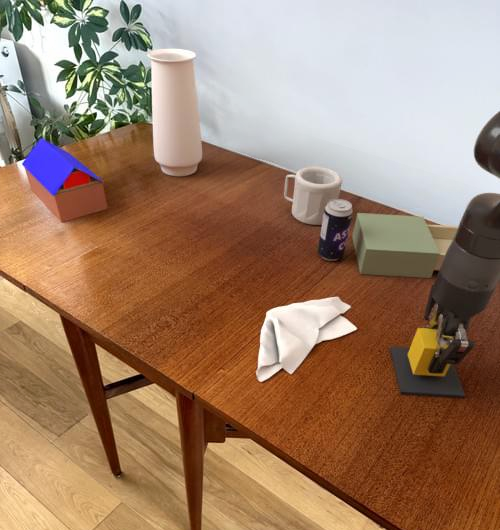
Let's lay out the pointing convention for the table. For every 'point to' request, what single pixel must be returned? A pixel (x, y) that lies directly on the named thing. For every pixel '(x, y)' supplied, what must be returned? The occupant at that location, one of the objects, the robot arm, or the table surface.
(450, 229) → the drawer
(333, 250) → the beverage can
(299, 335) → the cloth
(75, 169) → the house
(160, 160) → the vase
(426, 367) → the yellow block
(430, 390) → the mat
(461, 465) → the table surface
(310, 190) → the mug
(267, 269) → the table surface
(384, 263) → the cabinet
